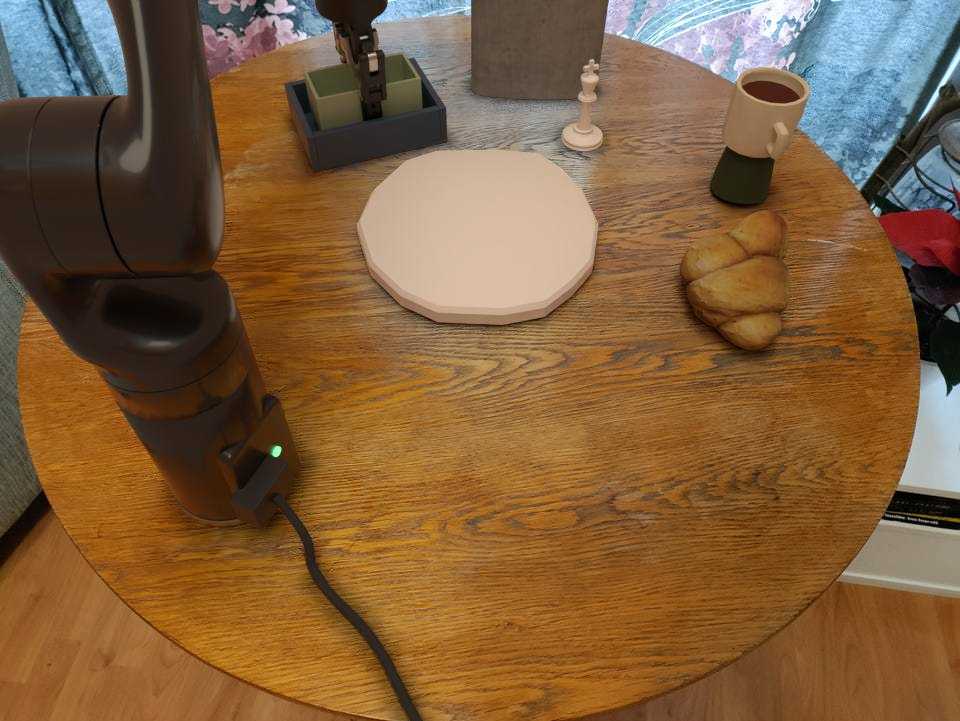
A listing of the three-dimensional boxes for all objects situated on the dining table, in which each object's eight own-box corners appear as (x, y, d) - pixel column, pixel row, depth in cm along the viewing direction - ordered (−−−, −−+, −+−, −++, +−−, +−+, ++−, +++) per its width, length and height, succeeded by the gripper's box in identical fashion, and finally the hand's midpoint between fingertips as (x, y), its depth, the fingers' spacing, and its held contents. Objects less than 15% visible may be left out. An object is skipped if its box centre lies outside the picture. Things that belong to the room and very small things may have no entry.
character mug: (785, 222, 81) (829, 115, 71) (720, 226, 81) (756, 119, 71) (752, 160, 88) (789, 54, 78) (692, 163, 88) (721, 57, 78)
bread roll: (792, 362, 69) (823, 301, 63) (684, 357, 70) (705, 297, 63) (765, 263, 77) (791, 201, 71) (669, 260, 78) (686, 197, 71)
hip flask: (595, 84, 98) (618, -84, 83) (597, 101, 96) (621, -68, 80) (471, 81, 98) (471, -87, 83) (470, 99, 96) (469, -71, 80)
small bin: (406, 90, 93) (403, 51, 89) (423, 117, 90) (421, 78, 86) (310, 110, 90) (303, 71, 86) (323, 139, 87) (316, 100, 83)
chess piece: (555, 131, 92) (562, 52, 84) (593, 124, 93) (603, 45, 85) (570, 154, 89) (579, 75, 81) (609, 147, 90) (622, 68, 82)
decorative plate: (364, 133, 84) (589, 133, 84) (368, 164, 87) (585, 164, 88) (340, 298, 68) (616, 297, 69) (346, 328, 72) (609, 328, 72)
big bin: (416, 91, 97) (414, 57, 93) (447, 142, 90) (446, 107, 87) (291, 117, 93) (283, 83, 90) (313, 172, 86) (306, 137, 83)
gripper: (293, -62, 80) (319, 84, 93) (328, 0, 71) (350, 151, 84) (363, -72, 82) (378, 72, 95) (404, -13, 73) (415, 136, 86)
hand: (365, 109), depth 89 cm, fingers closed on small bin, 6 cm apart
